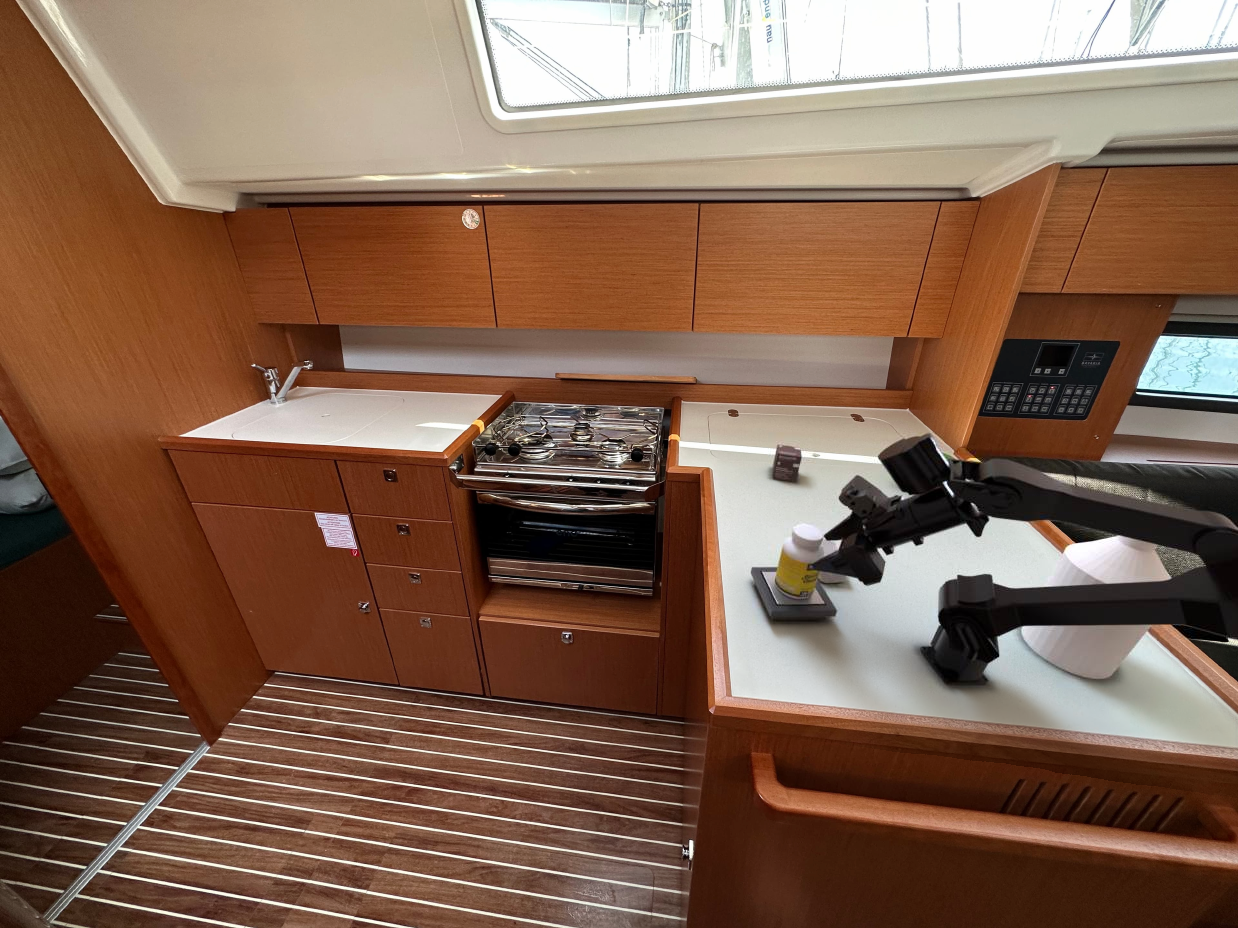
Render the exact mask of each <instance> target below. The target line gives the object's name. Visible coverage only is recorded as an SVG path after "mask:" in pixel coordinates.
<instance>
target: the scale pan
mask: <svg viewBox="0 0 1238 928" xmlns="http://www.w3.org/2000/svg"><path fill="white" fill-rule="evenodd" d="M775 576H776V572H762V577H763V579H764V581H765V583H766V585H767V587H768V589H769V591H770V593H771V596H772V598H773V600H774V602H775V604H776V606H818V605H825V603H824V601H823V600H822V598H821V596H820V595H819V593H818V591H817V590H816V588H815V589H814V592H813V594H812V595H811V596H810V597H808V598H805V599H796V598H791V597H789V596H787V595H785V594H783V593H782V592H781V591H779V589H778V588H777V587H776V585H775Z"/></svg>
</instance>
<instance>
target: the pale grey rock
mask: <svg viewBox="0 0 1238 928" xmlns="http://www.w3.org/2000/svg"><path fill="white" fill-rule="evenodd" d="M821 545H822V547H823V549H824V552H825V555H824V557H825V556H827V555H829V554H831V553H833V552H835V551H837V550H838V549H839V547H838V546H837V544H836V541H827V540H826V539H825V538H823V541H822V543H821ZM845 578H846V576H845V575H840V574H834V573H828V572H821V571H820V572H819V576H818V580H819V581H821V582H822V583H825V584H836V583H843V582H844V581H845Z"/></svg>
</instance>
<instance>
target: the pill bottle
mask: <svg viewBox="0 0 1238 928" xmlns="http://www.w3.org/2000/svg"><path fill="white" fill-rule="evenodd" d="M791 531H792V532H791V535H790V536H788V537H787V538H785V540H784V541H783V544H782V548H781V552H780V555H779V559H778V563H777V567H778V568H777V572H776V576H775V585H776V587H777V588H778V589H779V591H781V592H782V593H783V594H785V595H787V596H789V597H791V598H796V599H805V598H808V597H810V596H811V595H812V594H813V592H814V589H815V586H816V582H817V579H818V580H819V578H818V576H819V572H820V571H815V570H814V569H813V567H812V563H814V562H816V561H817V560H819V559H821V558H823V557H824V555H825V552H824V549H823V547H822V545H821V543H822V541H823V539H824V532H823V531H822V530H821V529H820V528H819V527H817V526H815V525H812V524H810V523H798V524H795V525H794V526H793V528H792V530H791Z"/></svg>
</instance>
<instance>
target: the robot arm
mask: <svg viewBox="0 0 1238 928" xmlns="http://www.w3.org/2000/svg"><path fill="white" fill-rule="evenodd" d="M943 453H944V452H942V451H941V449H940V447H939V446H938V444H937V441H936V439H935V438H934V436H933V435H932V433H931V432H926V433H925V434H922V435H915V436H910V437H908V438H905V437H904V438H901V439H899V440H897V441H895V442H894V443H892V444H890V445H889V446H887V447H886V448H884V449H883V450H882V451H881V452H880V453H879V454H878V455H877V459H878V460H879V462H880V463H881V465H882V466H883V467H884V469H885V471H886V472H887V473H888V475H889V476H890V477H891V479H892V480H893V482H894V483H895V484H896V486H897V487H898V488H899V490H900V492H902V493H907V494H908V495H909V496H910V497H907V498H905V497H904V496H903V495H902V494H901V495H899V494H895V495H893V496H891V497H889V496H888V495H886V494H885V493H884V492H883V491H882V490H881V489H880V488H878V487H877V486H876V485H874V484H873V483H871V482H870V481H869V480H867V479H866V478H864V477H863V476H861V475H859V474H856V475H855V476H854V477H853V478H852V479H850V480H849V482H848V483H847V484H845V485H844V487H842V489H841V492H840V494H839V496H838V501H839V502H840V503H841V504H842V506H844V507H847V508H848V509H849V510H850V511H851V512H850V514H849V515H848V516H847V517H845V518H844V519H843V520H841V521H840V522H839V523H838V524H836V525H835V526H834V527H832V528H830V529H829V530H828V531H826V532H825V533H823V535H824V537H823V539H824V540H827V541H832V542H836V541H840V543H839V546H838V550H837V551H835V552H833V553H831V554H829V555H827V556H825V557H823V558H821V559H819V560H817V561H816V562H814V563H812V567H813V569H814V570H815V571H821V572H828V573H834V574H840V575H845V577H850V578H852V579H853V578H854V579H857V580H858V582H860V583H862V584H863V585H864V586H866V587H869V586H872V585H876V584H879V583H881V581H882V579H883V577H884V572H885V566H886V560H885V558H884V557H883V556H882V554H881V553H880V551H879V550H880V549H881V550H882V551H883V553H884V554H885V555H886V556H890V555H893V554H895V553H894V552H895V548H897V547H899V546H902V545H906V544H909V543H913V544H914V546H915V547H918V546H922V545H924V544H925V543H924V542H925V538H927V537H930V536H933V535H937V534H939V533H942V532H945V531H949V530H951V529H955V528H957V527H958V528H959V527H961V526H964V525H967V527H968V528H969V529H970V531H971V533H972V534H973V535H974V536H975V537H976V538H981V537H983V532H984V529H985V527H986V525H987V524H988V523H989V522H990V518H994V519H999V520H1008V521H1016V522H1024V523H1025V522H1026V523H1031V522H1032V523H1033V522H1041V521H1042V522H1044V521H1051V522H1059V523H1065V524H1069V525H1074V526H1076V527H1081V528H1086V529H1090V530H1094V531H1098V532H1103V533H1107V534H1111V535H1115V536H1118V535H1119V536H1123V537H1127V538H1131V539H1136V540H1140V541H1144V542H1148V543H1152V544H1156V545H1158V546H1161V547H1166V548H1169V549H1174V550H1177V551H1180V552H1181V551H1182V552H1186V553H1190V554H1194V555H1196V556H1198V557H1199V559H1200V560H1201V561H1202V562H1203V564H1204V565H1203V566H1197V567H1194V568H1192V569H1189V570H1187V571H1185V572H1182V573H1180V574H1178V575H1176V576H1174V577H1171V579H1169V580H1164V581H1152V582H1132V583H1112V584H1092V585H1071V586H1051V587H1045V586H1034V587H1009V586H1005V585H1002V584H998V583H996V582H994V579H993V575H992V574H991V573H982V574H976V575H964V574H963V575H962V574H956V578H953V579H949V580H946V581H944V583H943V584H942V585H941V586H940V588H939V589H938V596H937V597H938V601H937V603H938V604H937V620H938V623H939V625H938V626H937V629H936V631H935V633H934V635H933V637H932V639H931V641H930V646H929V645H928V646H926V645H924V646H923V645H922V646H921V647H920V649H919V650H920V652H921V653H922V654H923V656H924V657H925V659H926V660H927V661H928V662H929V664H930V665H931V667H932V668H933V669H934V671H935V672H936V673H937V675H939V677H940V678H941V679H942V681H943V682H944V683H945V684H947V685H949V686H951V685H953V686H954V685H987V684H988V683H989V682H990V681H989V679H988V677H987V676H986V675H985V674H984V672H985V670H986V669H987V667H988V665H989V664H990V663H992V662H993V661H995V660H997V659H998V658H1000V647H999V639H998V638H999V637H1001V636H1004V635H1006V634H1008V633H1010V632H1013V631H1014V630H1017V629H1019V628H1022V627H1023V626H1096V625H1152V626H1187V627H1190V628H1194V629H1197V630H1201V631H1205V632H1208V633H1211V634H1215V635H1219V636H1223V637H1225V638H1229V639H1238V526H1236V525H1235V524H1234V522H1233V521H1232V520H1231V519H1229V518H1228V517H1227V516H1225V515H1223V514H1221V513H1218V512H1215V511H1209V510H1195V509H1190V508H1185V507H1180V506H1175V505H1171V504H1166V503H1162V502H1157V501H1152V500H1147V499H1142V498H1137V497H1133V496H1127V495H1122V494H1119V493H1113V492H1108V491H1103V490H1099V489H1094V488H1090V487H1084V486H1080V485H1076V484H1071V483H1068V482H1064V481H1062V480H1059V479H1056V478H1055V477H1052V476H1050V475H1048V474H1046V473H1045V472H1042V471H1040V470H1038V469H1036V468H1033V467H1030V466H1027V465H1024V464H1021V463H1019V462H1016V461H1014V460H1010V459H1007V458H990V459H989V460H987V461H984V462H983V461H975V460H965V459H957V458H955V459H948V460H947V459H946V458H945V456H944V455H943Z"/></svg>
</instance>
